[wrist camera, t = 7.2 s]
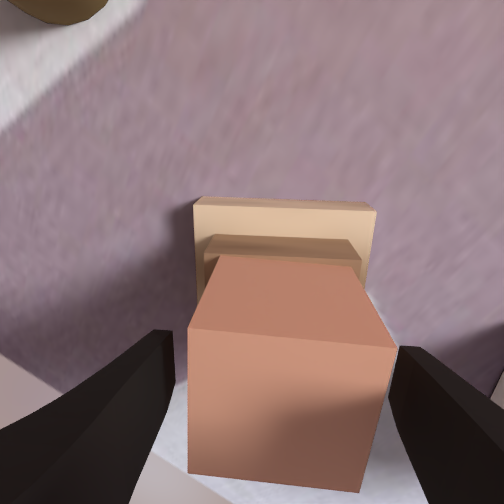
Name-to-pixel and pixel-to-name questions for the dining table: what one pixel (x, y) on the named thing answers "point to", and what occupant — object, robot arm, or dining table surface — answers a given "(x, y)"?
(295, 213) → the birch base slab
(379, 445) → the dining table surface
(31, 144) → the dining table surface
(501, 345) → the dining table surface
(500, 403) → the small box
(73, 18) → the olive game pawn
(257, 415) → the terracotta cube
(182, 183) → the dining table surface
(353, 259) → the walnut top slab
